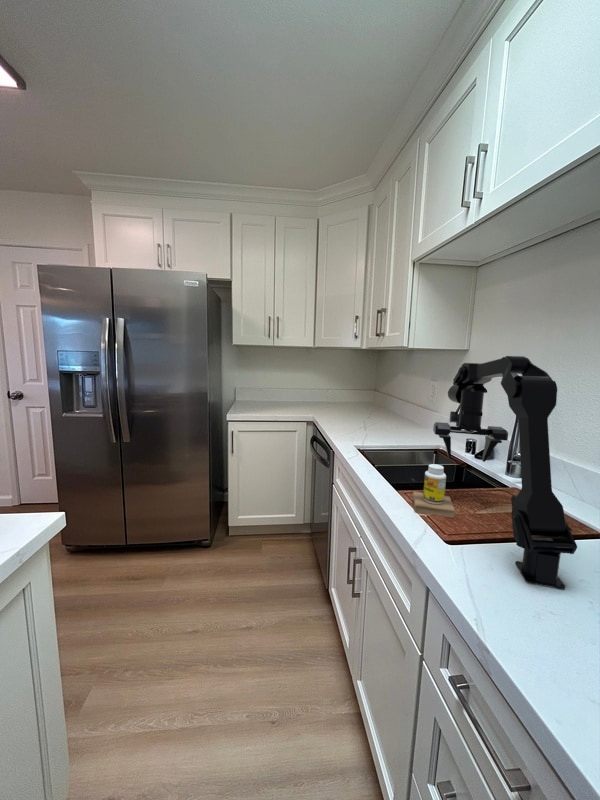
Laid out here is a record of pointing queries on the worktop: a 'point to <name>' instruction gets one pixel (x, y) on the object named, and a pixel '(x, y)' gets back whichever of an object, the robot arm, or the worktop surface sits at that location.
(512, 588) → the worktop surface
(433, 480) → the supplement bottle
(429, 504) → the beige square slab
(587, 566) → the worktop surface
